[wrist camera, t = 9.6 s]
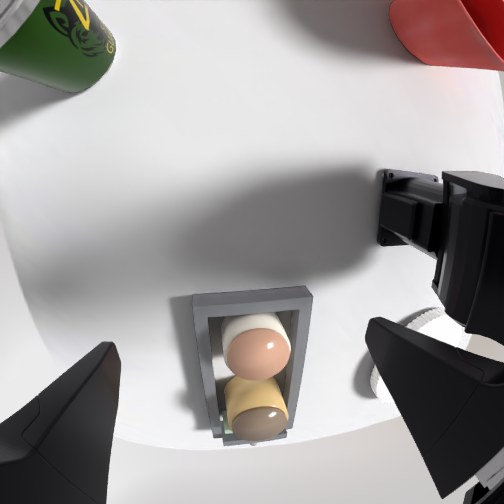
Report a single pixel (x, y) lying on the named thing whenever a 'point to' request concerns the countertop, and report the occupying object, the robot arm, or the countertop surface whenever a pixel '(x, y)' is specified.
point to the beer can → (54, 43)
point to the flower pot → (452, 31)
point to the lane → (253, 304)
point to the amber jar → (255, 408)
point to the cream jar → (255, 345)
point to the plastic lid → (430, 325)
